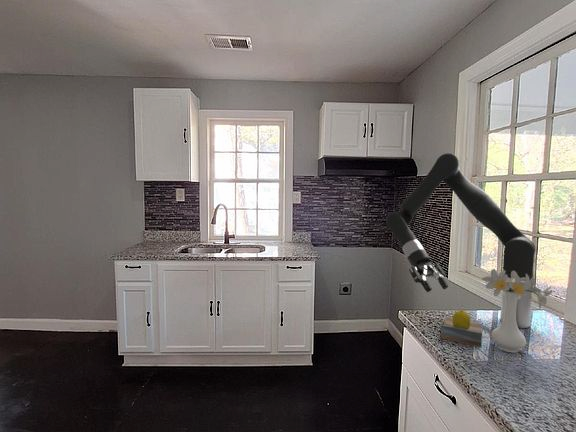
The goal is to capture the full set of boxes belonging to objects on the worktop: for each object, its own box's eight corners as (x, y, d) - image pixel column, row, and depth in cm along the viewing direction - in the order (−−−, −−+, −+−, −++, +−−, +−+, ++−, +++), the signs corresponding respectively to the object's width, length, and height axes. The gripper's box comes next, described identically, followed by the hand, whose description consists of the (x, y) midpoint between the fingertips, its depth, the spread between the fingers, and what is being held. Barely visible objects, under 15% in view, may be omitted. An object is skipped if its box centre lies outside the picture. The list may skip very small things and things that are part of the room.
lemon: (469, 337, 111) (471, 314, 110) (451, 333, 114) (452, 311, 113) (469, 331, 116) (471, 308, 115) (452, 327, 118) (453, 306, 118)
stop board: (445, 320, 129) (446, 309, 128) (481, 327, 123) (482, 315, 122) (440, 338, 113) (441, 325, 113) (481, 346, 107) (482, 333, 107)
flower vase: (544, 367, 95) (550, 282, 93) (473, 346, 108) (477, 270, 106) (548, 351, 105) (555, 274, 103) (483, 333, 117) (487, 264, 115)
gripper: (423, 257, 138) (445, 292, 129) (397, 260, 132) (418, 296, 123) (434, 247, 133) (457, 282, 124) (407, 249, 127) (430, 286, 118)
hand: (437, 289), depth 123 cm, fingers open, 8 cm apart
